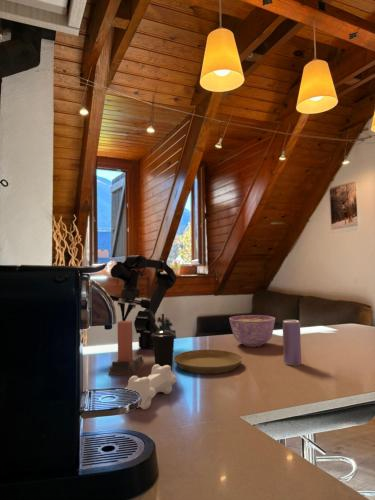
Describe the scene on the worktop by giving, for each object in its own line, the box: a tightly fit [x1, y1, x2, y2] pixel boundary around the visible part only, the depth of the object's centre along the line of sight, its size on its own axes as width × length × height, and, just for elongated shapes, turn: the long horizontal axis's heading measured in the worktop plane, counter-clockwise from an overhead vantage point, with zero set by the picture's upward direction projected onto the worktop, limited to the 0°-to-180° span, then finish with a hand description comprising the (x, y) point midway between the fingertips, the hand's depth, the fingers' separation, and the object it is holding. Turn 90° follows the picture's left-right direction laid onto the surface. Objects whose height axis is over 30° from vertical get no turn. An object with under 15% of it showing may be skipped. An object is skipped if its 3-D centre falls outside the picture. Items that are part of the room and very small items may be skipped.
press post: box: [117, 320, 134, 366], centre depth 130 cm, size 5×5×15 cm
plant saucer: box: [173, 349, 243, 375], centre depth 132 cm, size 24×24×3 cm
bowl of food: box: [228, 314, 276, 348], centre depth 164 cm, size 20×20×12 cm
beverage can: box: [282, 319, 302, 367], centre depth 132 cm, size 6×6×15 cm
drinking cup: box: [151, 313, 176, 372], centre depth 120 cm, size 8×8×20 cm
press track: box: [107, 354, 144, 376], centre depth 131 cm, size 16×8×4 cm, turn 173°
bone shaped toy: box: [124, 364, 177, 410], centre depth 100 cm, size 15×9×8 cm, turn 155°
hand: (123, 322), depth 150 cm, fingers closed
